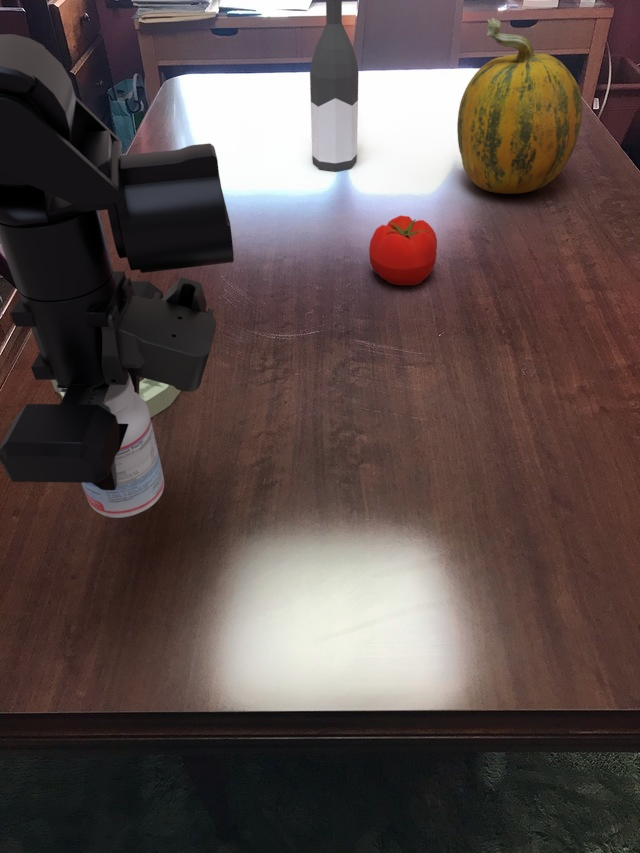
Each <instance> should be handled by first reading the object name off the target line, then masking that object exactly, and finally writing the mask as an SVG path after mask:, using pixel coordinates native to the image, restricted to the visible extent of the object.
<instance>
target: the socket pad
mask: <svg viewBox="0 0 640 853" xmlns="http://www.w3.org/2000/svg"><path fill="white" fill-rule="evenodd" d="M50 382H51V383H52V387H53V389H54V392H56V393H57V394H59V395H60V397H61V400H62V399H63V397H64V393H63V392H59V391H58V390H57V381H56V380H50ZM181 392H182V391H181V390H177V389H176V388H175V387H174V386H171V385H168V384H164V383H160V382H157V381H153V380H149V379H146V378H143V379H142V380H140V384H139V395H140V396H141V397H142V398H143V400H144V401H145V402H146V404H147V406H148V409H149V413H150V417H151V419H152V418H153V417H155V416H156V415H158V414H160V413H161V412H162V411H164V410H166V409H167V408H169V407H170V406H172V404H173V403H174V402H175V400H176V399H177V397H178V396H179V395H180V393H181Z"/></svg>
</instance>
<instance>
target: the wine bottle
mask: <svg viewBox="0 0 640 853" xmlns="http://www.w3.org/2000/svg"><path fill="white" fill-rule="evenodd" d="M342 13H343V0H325V17H326V18H325V25H324V28H323V30H322V32H321V34H320V37H319V38H318V41H317V43H316V46H315V48H314V52H313V55H312V58H311V65H310V70H309V84H310V85H309V86H310V88H309V89H310V90H309V92H310V120H311V121H310V122H311V123H310V125H311V128H310V129H311V159H312V164H313V165H314V167H316V168H317V169H318V170H320V171H326V172H334V173H338V172H341V171H347V170H351V169H353V167H354V166H355V164H356V163H357V159H358V128H359V127H358V125H359V123H358V119H359V116H358V115H359V73H360V72H359V71H360V70H359V66H358V61H357V57H356V56H357V55H356V53H355V51H354V50H355V49H354V47H353V44H352V42H351V40H350V38H349V36H348V33H347V31H346V29H345V27H344V25H343V14H342Z"/></svg>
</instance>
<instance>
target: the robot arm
mask: <svg viewBox="0 0 640 853" xmlns="http://www.w3.org/2000/svg"><path fill="white" fill-rule="evenodd" d="M99 211H107V214H108V215H107V216H108V218H109V224H110V230H111V236H112V239H113V243H114V246H115V247H114V248H115V250H116V253H117V256H118V258H119V259H127V262H128V266H129V269H130V272H131V271H140V273H141V274H146V273H154V272H162V271H173V270H181V269H188V268H189V269H190V268H196V267H204V266H205V267H206V266H214V265H221V264H231V263H235V262H234V261H235V259H234V258H235V257H234V256H235V255H234V245H233V235H232V234H233V233H232V227H231V221H230V217H229V212H228V208H227V205H226V201H225V196H224V193H223V188H222V183H221V176H220V170H219V162H218V156H217V152H216V149H215V146H214V145H213V144H212V143H211V142H210V143H201V144H200V143H199V144H191V145H187V146H185V147H182V148H179V149H173V150H163V151H153V152H143V153H132V154H122V141H121V139H120V138H119V137H118V136H117V134H115V133H114V132H113V131H112V130H111V129H110V128H109V127H108V126H107V125H106V124H104V122H103V121H101V120H100V119H99V118H98V117H97V116H96V115H95V114H94V113H93V112H92V111H91V110H90V109H89V108H88V107H87V106H86V105H85V104H84V103H83V102H82V101H81V100H80V99H79V98H78V97H77V96H76V93H75V90H74V87H73V83H72V79H71V78H70V76H69V74H68V72H67V71H66V69H65V67H64V65H63V64H62V63H61V62H60V61H59V60H58V59H57V58H56V57H55V56H54V55H53V54H52V53H51V52H50V51H49V50H48V49H46V47H45V46H44V45H43V44H41V43H39V42H38V41H36V40H33V39H32V38H29V37H26V36H22V35H18V34H13V33H6V34H3V33H2V34H0V246H1V249H2V252H3V254H4V255H3V256H4V258H5V260H6V262H7V265H8V268H9V271H10V273H11V277H12V280H13V282H14V285H15V286H16V291H17V294H18V296H19V298H18V300H17V301H16V303H14V306H13V308H12V309H11V310H10V312H9V313H10V314H9V315H11V319H12V321H13V324H14V327H15V328H16V327H18V328H20V327H21V328H24V327H25V328H26V327H27V328H30V329H31V332H32V336H33V338H34V340H35V343H36V346H37V348H38V351H39V352H38V354H37V355H36V357H35V359H34V360H33V362H32V364H31V366H30V369H31V372H32V373H33V377H34V379H35V380H37V381H51V380H56V381H57V390H58V391H59V392H66V393H65V395H64V397H63V399H62V398H61V401H60V403H26V404H25V405H24V406H23V408H22V409H21V410H19V412H18V413H17V414H16V415H15V418H14V419H13V420H12V422H11V425H10V427H9V428H8V430H7V432H6V434H5V436H4V438H3V440H2V441H1V443H0V464H1V466H2V468H3V471H4V472H5V475H6V476H7V478H8V479H9V480H10V481H11V482H13V483H75V484H76V483H80V484H82V483H92V484H94V485H95V486H97V487H98V488H100V489H101V490H115V489H116V487H117V477H116V466H115V456H116V454H117V453H118V452H119V450H120V448H121V445H122V442H123V439H124V437H125V434H126V431H127V428H128V425H129V424H118V422H117V418H116V416H115V415H114V414H112V413H111V410H110V408H109V407H108V406H107V405H105V403H106V400H107V398H108V395H109V393H110V390H111V388H112V385H126V383H127V381H128V378H129V375H130V377H131V380H132V384H133V386H134V392H135V393H137V394H138V395H139V384H140V382H141V378H143V379H145V378H146V379H149V380H153V381H157V382H160V383H164V384H168V385H171V386H174V387H175V388H176V389H177V390H181V392H185V393H187V392H188V393H190V392H195V391H197V390H199V388H200V386H201V383H202V380H203V376H204V373H205V369H206V366H207V362H208V359H209V357H210V353H211V350H212V349H211V348H212V344H213V341H214V337H215V333H216V330H217V321H216V319H215V316H214V313H215V309H213V308H210V307H208V303H207V298H206V296H205V292H204V290H203V285H202V283H201V282H199V281H196V280H192V279H189V278H186V277H183V276H182V277H180V278H178V279H177V280H176V282H174V283H173V285H172V286H170V287H169V289H167V290H166V292H165V294H164V292H163V291H162V290H161V289H159V288H158V287H157V286H156V285H154V284H153V283H152V282H150V281H149V280H145V281H144V280H141V281H139V280H137V281H136V280H133V281H132V279H131V277H127V276H126V272H125V271H124V270H123V271H122V270H121V271H119V270H117V271H116V270H114V268H113V265H112V264H113V263H112V260H111V257H110V252H109V248H108V244H107V240H106V236H105V233H104V228H103V224H102V220H101V217H100V212H99ZM207 308H208V309H207ZM128 373H129V374H128Z"/></svg>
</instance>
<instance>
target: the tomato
mask: <svg viewBox="0 0 640 853" xmlns="http://www.w3.org/2000/svg"><path fill="white" fill-rule="evenodd" d="M437 250H438V239H437V234H436V232H435V230H434V229H433V227H432V226H431V225H430V224H429V223H428V222H427V221H426V220H424V219H419V220H418V219H416V218H414V219H412V218H411V216H409V215H398V216H396V217H394V218H392V219H390V220H389V221H388V222H387V224H386V225H385V224H381V225H380V226H378V227H377V228H376V229H375V231H374V233H373V234H372V237H371V239H370V241H369V248H368V255H369V262H370V265H371V268H372V270H373V271H374V272H375V273H376V274H378V275H379V276H380V277H381V279H383V280H385V281H386V282H387V283H389V284H391V285H395V286H416V285H418V284H420V283H422V282H423V281H424V280H425V279H426V278H427V277H428V276H429V275H430V274H431V272H432V270H433V269H434V267H435V265H436V260H437Z"/></svg>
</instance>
